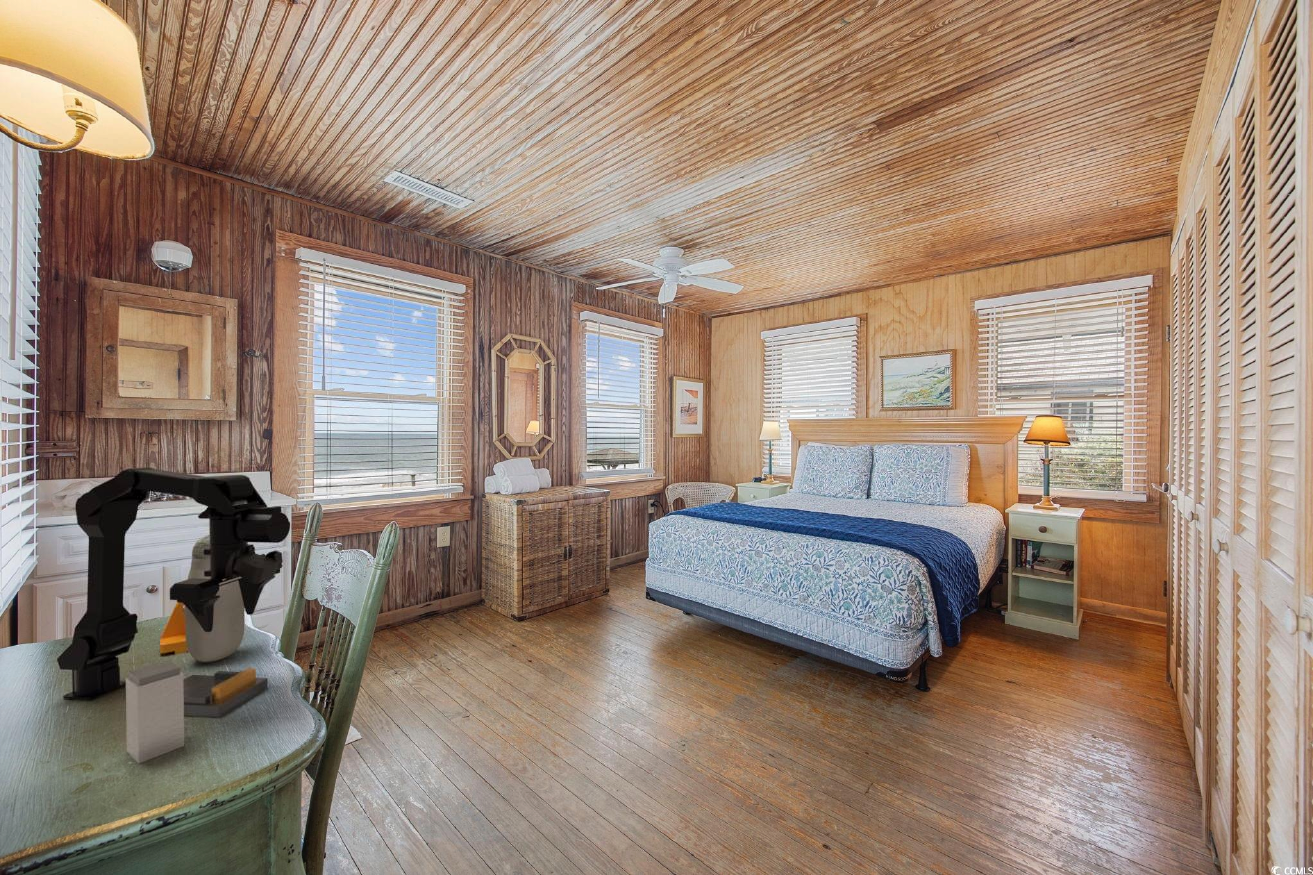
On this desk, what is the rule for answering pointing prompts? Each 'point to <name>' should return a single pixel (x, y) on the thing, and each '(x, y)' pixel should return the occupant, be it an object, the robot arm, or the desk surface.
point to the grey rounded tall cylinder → (225, 616)
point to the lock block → (154, 710)
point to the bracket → (174, 632)
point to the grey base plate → (220, 692)
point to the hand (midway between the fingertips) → (230, 622)
